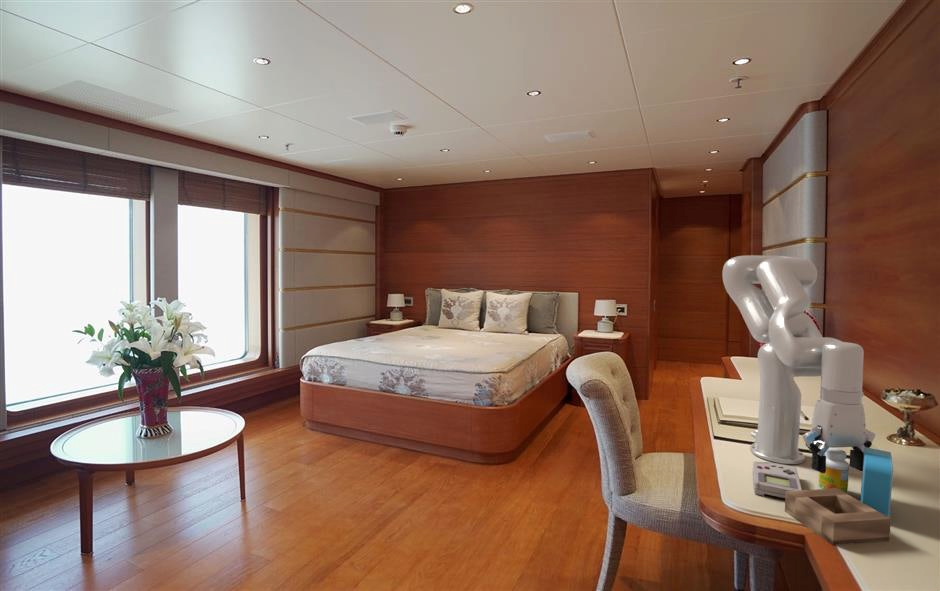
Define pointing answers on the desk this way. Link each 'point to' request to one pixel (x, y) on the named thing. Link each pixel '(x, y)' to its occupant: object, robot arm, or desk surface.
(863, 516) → the walnut pocket block
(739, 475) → the desk surface
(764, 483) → the handheld gaming console
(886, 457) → the data package
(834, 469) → the supplement bottle
